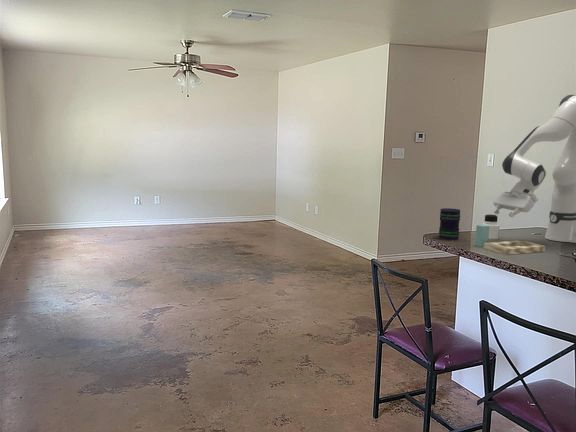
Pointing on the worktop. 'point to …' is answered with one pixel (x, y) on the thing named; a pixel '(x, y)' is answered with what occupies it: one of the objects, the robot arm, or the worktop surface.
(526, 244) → the keyhole board
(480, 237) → the post
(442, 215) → the storage jar
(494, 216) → the medicine bottle
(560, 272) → the worktop surface
